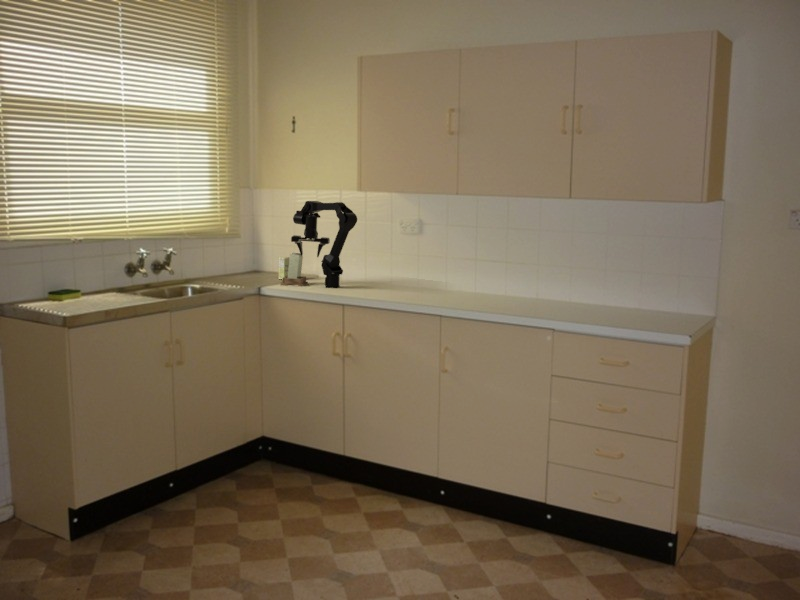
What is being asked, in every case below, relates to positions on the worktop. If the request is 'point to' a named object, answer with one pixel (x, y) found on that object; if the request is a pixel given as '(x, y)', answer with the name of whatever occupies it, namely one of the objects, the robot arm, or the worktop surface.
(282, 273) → the box
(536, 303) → the worktop surface
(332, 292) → the worktop surface
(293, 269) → the tin
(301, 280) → the brown wooden frame
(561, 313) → the worktop surface
